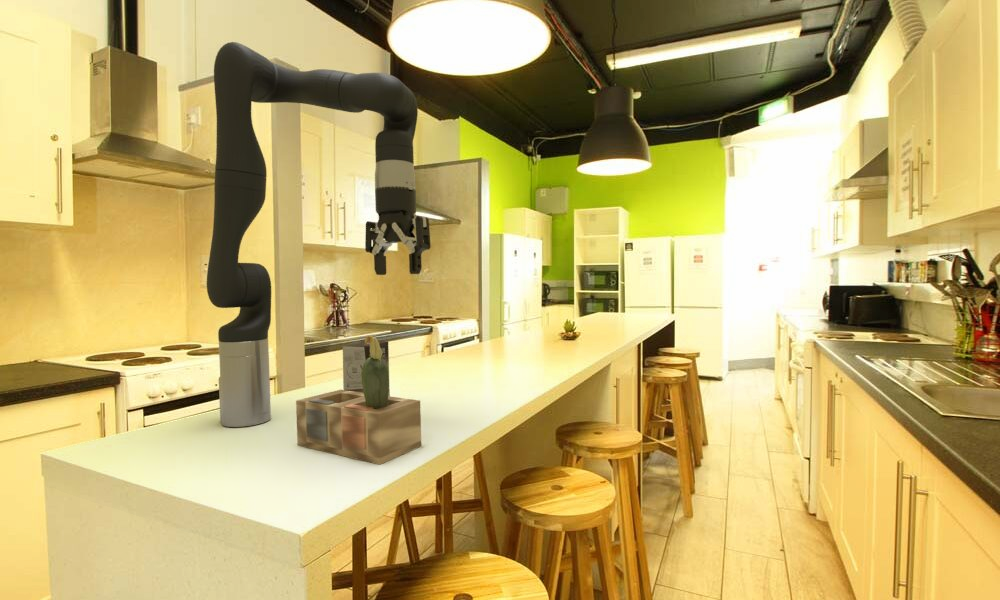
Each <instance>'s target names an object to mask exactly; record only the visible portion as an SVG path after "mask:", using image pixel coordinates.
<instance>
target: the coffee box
mask: <svg viewBox="0 0 1000 600" xmlns="http://www.w3.org/2000/svg"><path fill="white" fill-rule="evenodd" d="M377 341H378V340H377ZM378 343H379V345H380V348H381V351H382V356H381V358H383V359H384V360H385V362H386V363H387V365H388V370H389V371H390V360H389V359H390V357H389V356H390V355H389V354H390V353H389V351H390V350H389V349H390V348H389V341H388V340H386V341H385V340H383V341H382V340H381V341H380V340H379V341H378ZM369 355H370V342H369V341H368V343H367V344H365V341H359V342H355V343H352V344H347V345H344V346H343V345H342V369H343V370H342V372H343V373H342V376H343V377H342V379H343V380H342V382H343V383H342V385H343V389H342V390H347V391H354V392H362V393H363V386H362V376H361V372H362V367H363V364H364V362H365V361H366V360H367V358H370V357H371V356H369ZM390 389H391V388H390V387H389V388H388V396H391V395H390V393H391V392H390Z"/></svg>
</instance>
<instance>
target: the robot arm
mask: <svg viewBox="0 0 1000 600" xmlns="http://www.w3.org/2000/svg"><path fill="white" fill-rule="evenodd" d="M213 85H214V99H215V110H216V111H215V114H216V151H215V153H216V155H215V165H214V166H215V168H214V191H213V192H214V199H213V201H214V205H213V206H214V207H213V225H212V226H213V227H212V235H211V244H210V249H209V250H210V251H209V258H208V264H207V273H206V292H207V296H208V299H209V301H210V303H211V304H212V305H213V306H215V307H216V308H220V309H230V308H231V309H233V308H239V313H238V315H237V316H236V317H235V318H234V319H233V320H231V321H230V322H228V323H225V324H224V325H222V326H220V327H219V329H218V331H217V332H218V334H217V335H218V337H217V338H218V355H219V356H218V358H219V375H220V376H219V377H218V390H219V391H218V393H219V395H218V396H219V397H218V398H219V414H220V415H219V416H220V417H219V418H220V419H219V421H220V423H221V425H222V426H224V427H228V428H242V427H250V426H255V425H258V424H259V425H261V424H263V423H266V422H269V420H271V419H272V418H271V417H272V412H271V410H272V409H271V408H272V407H271V406H272V405H271V381H270V377H271V376H270V355H269V354H270V353H269V349H270V348H269V331H270V330H269V329H270V327H271V320H272V281H271V280H272V279H271V276H270V274H269V271H268V270H267V268H266V267H265V266H264V265H262V264H260V263H256V262H239V254H240V248H241V244H242V240H243V238H244V237H245V234H246V232H247V230H248V229H249V227H250V226H251V225H252V223H253V222H254V221H255V219H256V218H257V216H258V214H259V213H260V211H261V210H262V208H263V206H264V204H265V201H266V195H267V193H266V192H267V177H268V176H267V175H268V174H267V165H266V160H265V157H264V154H263V152H262V149H261V146H260V143H259V141H258V138H257V135H256V132H255V129H254V127H253V126H254V125H253V119H252V103H258V104H259V103H260V104H261V103H262V104H266V103H268V104H269V103H270V104H272V103H273V104H278V103H279V104H280V103H291V104H292V103H294V104H304V105H311V106H316V107H320V108H326V109H330V110H335V111H342V112H345V113H353V114H354V113H357V114H359V113H362V112H364V111H370V112H374V113H377V114H379V115H380V116H382V117H383V130H380V131H379V132H378V133H377V135H376V136H375V142H374V143H375V144H374V145H375V146H374V147H375V148H374V149H375V150H374V151H375V153H374V154H375V169H374V170H375V171H374V193H375V194H374V195H375V196H374V197H375V201H374V202H375V204H374V205H375V212H376V214H377V215H378V220H377V221H365V238H364V239H365V242H364V243H365V247H364V248H365V252H366V253H369V254H372V255H373V261H374V262H373V265H374V269H373V270H374V272H375V274H376V275H377V276H385V275H386V274H387V256H386V254H387V252H388V250H389V248H390V247H392V246H393V244H397V243H402V244H403V245H404V246H406V247H407V249H408V251H409V252H410V253H409V254H408V262H409V264H408V266H409V267H408V268H409V269H408V270H409V274H410V275H420V273H421V271H422V254H423V252H425V251H427V250H430V249H431V247H432V246H431V233H430V220H429V218H428V217H425V216H422V215H421V216H420V215H417V216H416V217H415V213H417V193H416V189H417V188H416V172H415V167H414V166H415V165H414V162H415V161H414V138H415V135H416V128H417V122H418V115H419V114H418V112H419V111H418V104H417V103H418V102H417V99H416V95H415V94H414V92H413V91H412V90H411V89H410V88H409V87H407V86H406V85H405V84H404V82H402V81H401V80H400V79H399V78H397V77H396V76H394V75H391V74H389V73H383V72H367V73H366V72H364V73H363V72H362V73H358V74H357V73H353V72H348V71H347V72H346V71H342V70H335V69H329V68H328V69H327V68H326V69H324V68H321V69H317V68H316V69H313V70H306V71H305V70H304V71H302V70H301V71H300V70H294V69H291V68H287V67H285V66H282V65H279V64H277V63H274V62H272V61H271V60H270V59H268V58H267V57H266V56H264V55H262V54H260V53H258V51H255V50H253V49H251V48H250V47H248V46H246V45H244V44H242V43H239V42H238V41H237V42H236V41H231V42H227V43H225V44H223V45H222V46H221V47H220V48H219V50H218V51H217V54H216V56H215V60H214V65H213ZM414 230H415V232H414Z"/></svg>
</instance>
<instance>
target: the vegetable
mask: <svg viewBox="0 0 1000 600" xmlns="http://www.w3.org/2000/svg"><path fill="white" fill-rule="evenodd" d="M364 342H365V344H367V343H368V342H370V355H369V356H371V357H370V358H367V360H366V361H365V362H364V364H363V367H362V372H361V376H362V386H363V393H364V397H365V401H366V406H367V407H373V409H379V408H382V407H386V406H387V402H388V388H389V389H390V369H389V370H388V365H387V363H386V362H385V360H384V359H383V358H381V356H382V351H381V348H380V345H379V343H378V339H377V338H375V337H374V336H372V335H367V336H366V337H365V339H364Z"/></svg>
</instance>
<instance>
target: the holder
mask: <svg viewBox="0 0 1000 600" xmlns="http://www.w3.org/2000/svg"><path fill="white" fill-rule="evenodd" d="M295 405H296V408H295V409H296V410H295V411H296V435H297V436H296V437H297V438H296V439H297V446H300V447H305V448H309V449H313V450H316V451H321V452H325V453H330V454H334V455H337V456H343V457H346V458H347V457H348V458H350V459H355V460H359V461H363V462H368V463H373V464H375V465H382V464H384V463H387V462H389V461H391V460H393V459H396V458H398V457H401V456H402V455H404V454H406V453H409V452H411V451H413V450H416V449H418V448H420V447H422V423H421V422H422V419H421V416H422V415H421V400H419V399H418V400H417V399H413V398H412V399H410V398H405V397H396V396H391V395H390V396H388V402H387V406H386V407H382V408H379V409H373V407H367V406H366V401H365V397H364V393H362V392H354V391H347V390H344V389H337V390H333V391H329V392H324V393H320V394H317V395H313V396H309V397H305V398H301V399H296V400H295Z"/></svg>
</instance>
